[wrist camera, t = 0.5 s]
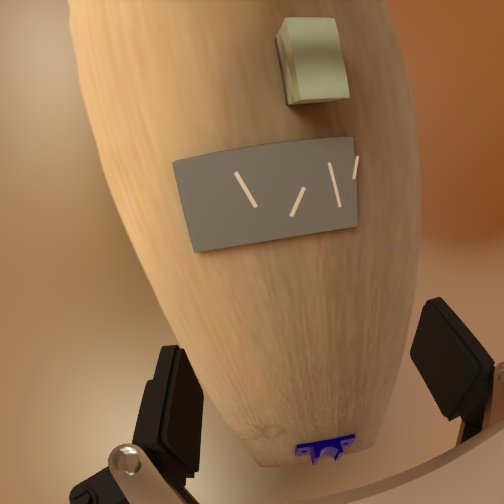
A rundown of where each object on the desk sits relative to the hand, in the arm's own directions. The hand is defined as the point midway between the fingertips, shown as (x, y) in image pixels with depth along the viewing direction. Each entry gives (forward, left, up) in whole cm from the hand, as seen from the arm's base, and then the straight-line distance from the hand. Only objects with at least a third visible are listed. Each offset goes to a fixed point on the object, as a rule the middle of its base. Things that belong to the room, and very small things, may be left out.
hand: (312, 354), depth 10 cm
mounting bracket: (+78, +9, -28) cm, 83 cm away
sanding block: (-14, +7, -27) cm, 32 cm away
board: (+1, +1, -27) cm, 27 cm away
